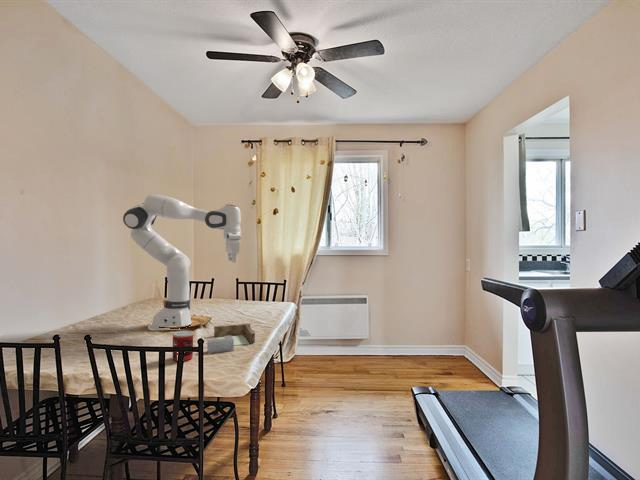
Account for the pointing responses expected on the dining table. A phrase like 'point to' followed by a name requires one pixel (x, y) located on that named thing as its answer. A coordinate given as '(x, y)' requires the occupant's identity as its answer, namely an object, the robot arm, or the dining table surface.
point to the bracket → (220, 345)
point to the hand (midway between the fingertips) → (231, 261)
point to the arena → (235, 331)
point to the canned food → (183, 343)
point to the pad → (238, 340)
